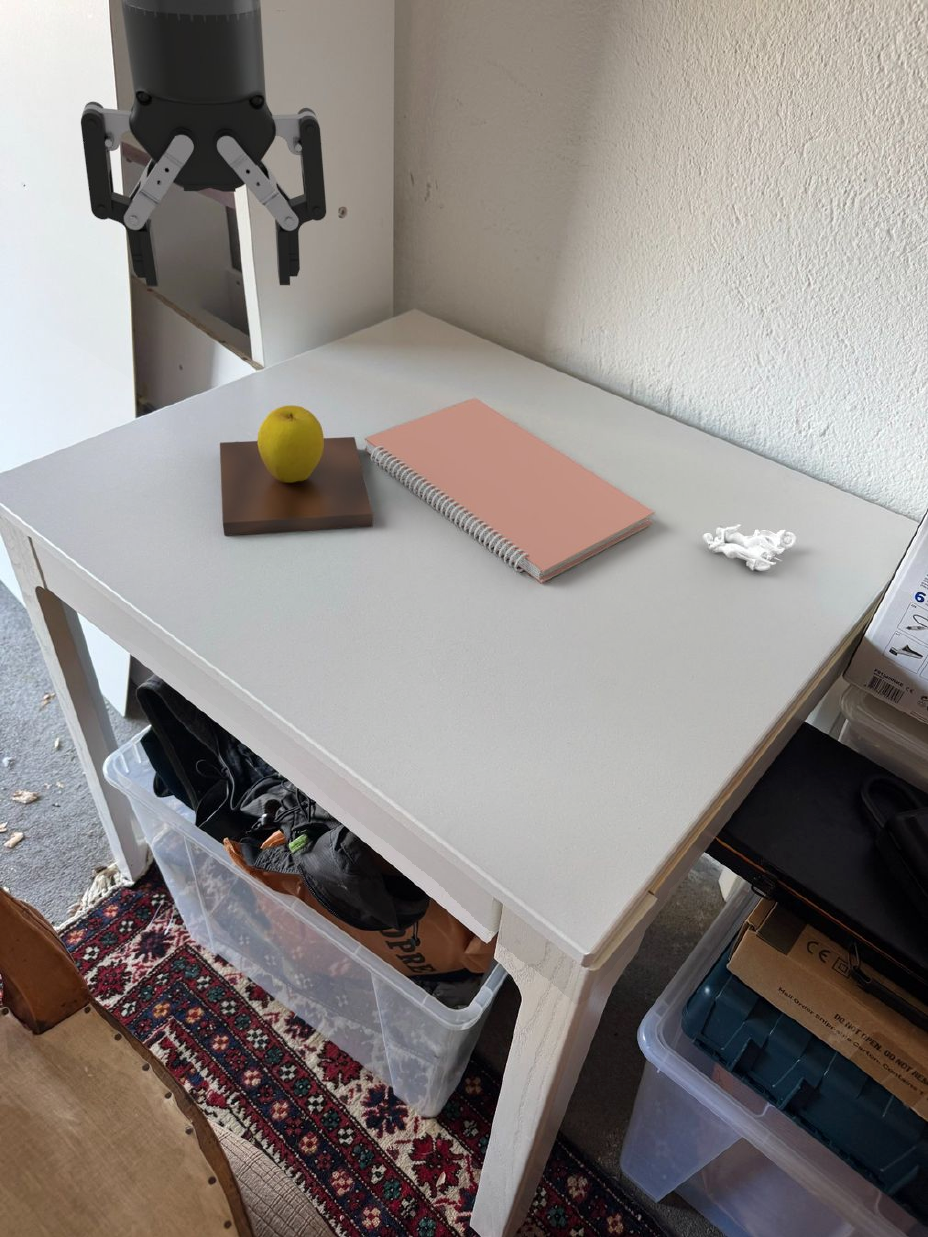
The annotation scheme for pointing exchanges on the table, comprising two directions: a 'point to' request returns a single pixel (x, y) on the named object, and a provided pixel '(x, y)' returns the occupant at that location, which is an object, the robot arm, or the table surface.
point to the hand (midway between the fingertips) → (219, 281)
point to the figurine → (751, 545)
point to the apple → (290, 443)
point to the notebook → (508, 487)
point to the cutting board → (293, 491)
